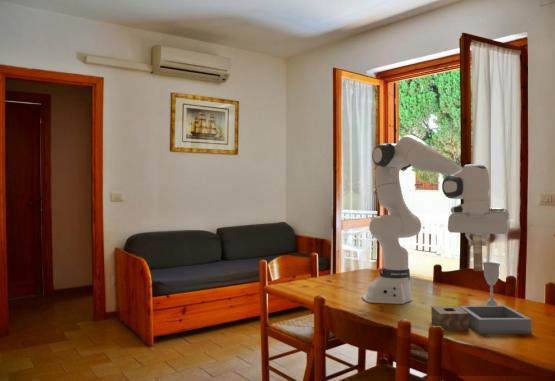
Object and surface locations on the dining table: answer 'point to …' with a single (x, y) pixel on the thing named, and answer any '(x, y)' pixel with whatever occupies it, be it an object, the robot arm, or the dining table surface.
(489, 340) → the dining table surface
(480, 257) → the dowel
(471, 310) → the tray
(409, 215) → the robot arm
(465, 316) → the dowel block
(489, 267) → the chalice
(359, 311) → the dining table surface
